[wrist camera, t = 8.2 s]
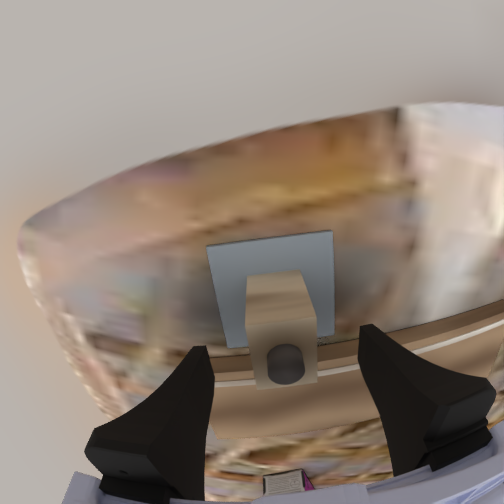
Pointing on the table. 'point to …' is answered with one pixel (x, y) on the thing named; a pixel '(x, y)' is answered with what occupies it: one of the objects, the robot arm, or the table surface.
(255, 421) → the walnut board
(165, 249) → the table surface
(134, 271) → the table surface
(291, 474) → the candy bar box
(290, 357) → the block
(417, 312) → the table surface
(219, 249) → the slate mat
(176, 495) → the robot arm
